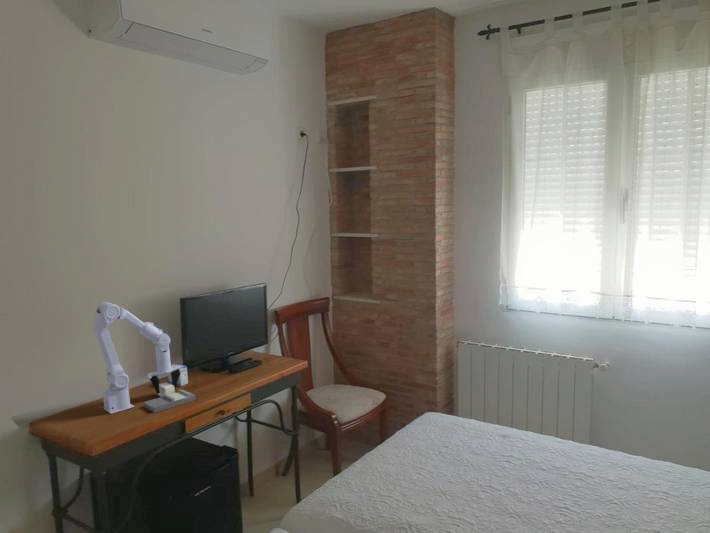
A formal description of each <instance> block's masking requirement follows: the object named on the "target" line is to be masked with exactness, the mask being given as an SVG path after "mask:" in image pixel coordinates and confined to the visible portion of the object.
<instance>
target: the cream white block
mask: <svg viewBox="0 0 710 533" xmlns="http://www.w3.org/2000/svg"><path fill="white" fill-rule="evenodd" d="M175 389H176V388H174V386H173V385H171V384H169V382H167V381H165V382H162V383H159V390H160V393H157V395H158V396H159V397H163V394H167V395H170V394H173V393H176V390H175Z"/></svg>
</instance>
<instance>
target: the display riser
mask: <svg viewBox="0 0 710 533" xmlns="http://www.w3.org/2000/svg"><path fill="white" fill-rule="evenodd" d="M177 390H178V391H177V392H175V393H173V394H170V395H167V394H163V397H161V396H159V397H157V398H153V399H150V400H146V401H143V407H144V408H145V409H147V410H149V411H151V412H153V413H157V412H162V411H164V410H168V409H171V408H174V407H177V406H180V405H184V404H188V403H190V402H194V401H196V400H197V398H196V397H197V396H196V394H194V393H192V392H190V391H187V390H183V389H181V388H180V389H177Z"/></svg>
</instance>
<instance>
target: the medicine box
mask: <svg viewBox="0 0 710 533" xmlns="http://www.w3.org/2000/svg"><path fill="white" fill-rule="evenodd" d="M178 365H180V366H181V371H180V376H179V378H178V382H177V387H178V386H179V387H183V386H185V385H187V384H189V378H188V367H187V365H181V364H175V363H174V364H171V367H173V366H178ZM167 375H168V383H169V384H171V385H172V377H171V373H168V374H167Z"/></svg>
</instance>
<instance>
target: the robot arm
mask: <svg viewBox="0 0 710 533" xmlns="http://www.w3.org/2000/svg"><path fill="white" fill-rule="evenodd" d="M117 319H118V320H125V321H126V322H128V323H129V324H130V325H132V326H134V327H135V328H137V329H138V333H139V334H140V335H141V336H143V337H144V338H146V339H148V340H149V341H150V342H152V344H153V345H154V347H155V348H154V350H155V360H156V362H155V363H156V370H153V371H151V372H148V373H147V374H146V376H147V377H146V378H147V379H149V380H150V382H151V383H152V385H153V387H154V390H155V393H156V394H158V393H160V390H159V384H160V379H159V378H158V377H160V376H163V375H168V373H171V377H172V385H173V386H174V388H175V389H177V388H178V386H177V382H178V378H179V376H180V371H181V366H180V365H181V364H177V365H178V366H173V367H171V365H172V361H171V353H170V352H171V350H170V344H171V340H172V339H171V338H170V335H168V334H167V333H165V332H163V329H161V328H157V327H156V326H155V324H154V323H153V322H150V321H146V322H143V321H142V320H141V319H139V318H138V317H137V316H135V315H134V314H133V313H131V312H130V311H128V310H127V309H125V308H123V307H121V306H119V305H117V304H115V303H111V302H110V301H104V302H102V303H101V304H99V306H98V307H97V309H96V310H95V316H94V319H93V320H94V321H93V323H92V329H93V332H94V335H95V337H96V341H97V344H98V345H99V348H100V352H101V354H102V357H103V359H104V363H105V366H106V372H107V375H106V380H107V382H108V383H109V387H108V389H107V390H104V391H103V393H102V397H103V410H104V411H106V412H107V413H109V414H110V415H111V414H115V413H118V412H123V411H126V410H128V409H132V408H135V406H134V405H133V404H131V398H130V390H129V383H130V377H129V375H127V373H126V372H125V370H124V369H123V366H122V364H121V363H120V360H119V357H118V354H117V352H116V348H115V345H114V343H113V341H112V337H111V334H110V332H109V330H108V329H109V327H110V326H111V324H112V323H113V322H114V321H115V320H117Z"/></svg>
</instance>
